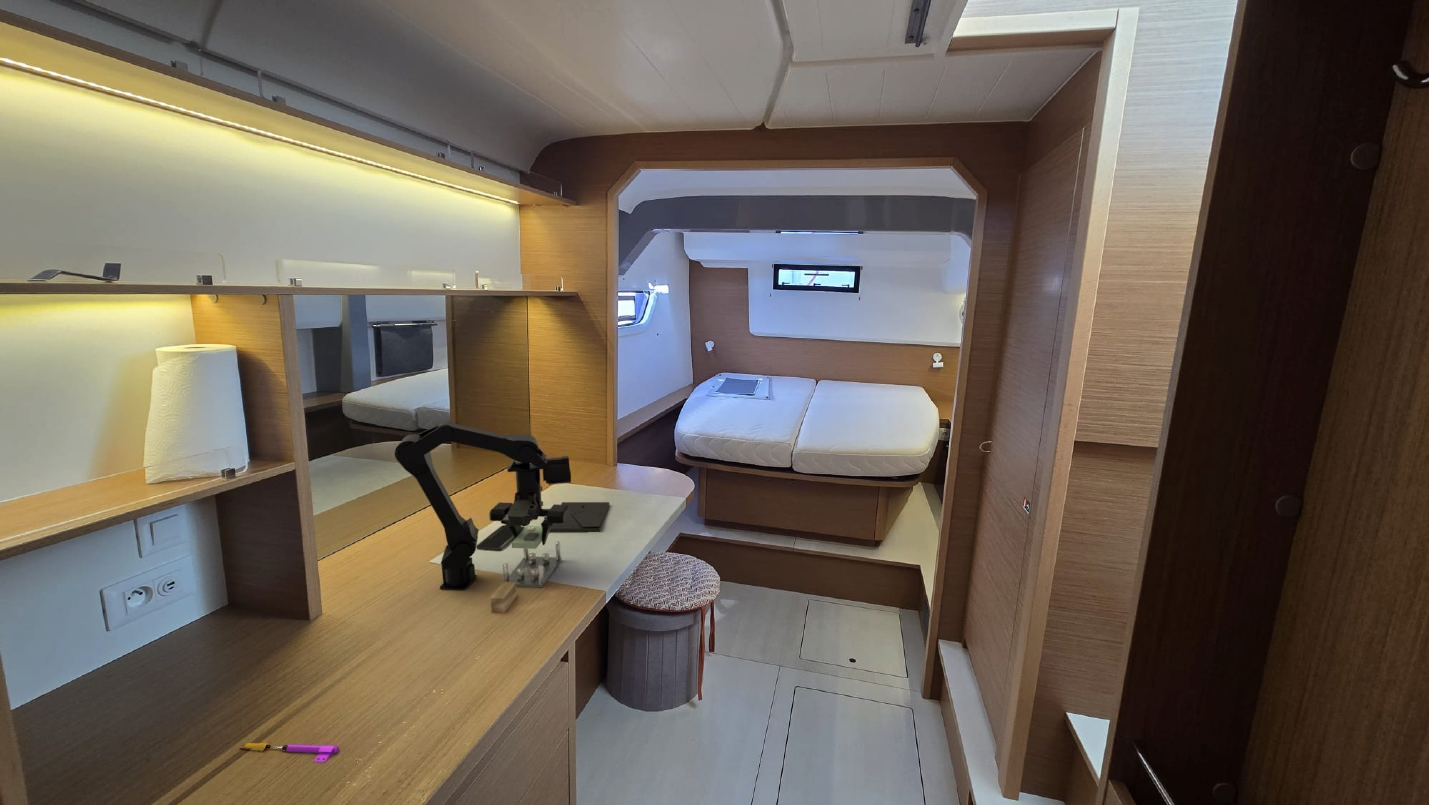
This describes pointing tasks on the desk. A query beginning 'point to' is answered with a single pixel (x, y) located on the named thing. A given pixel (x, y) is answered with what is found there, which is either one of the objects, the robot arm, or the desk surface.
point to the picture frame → (582, 517)
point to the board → (528, 538)
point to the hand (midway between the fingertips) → (531, 544)
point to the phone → (498, 539)
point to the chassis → (533, 569)
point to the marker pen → (304, 749)
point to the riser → (503, 597)
